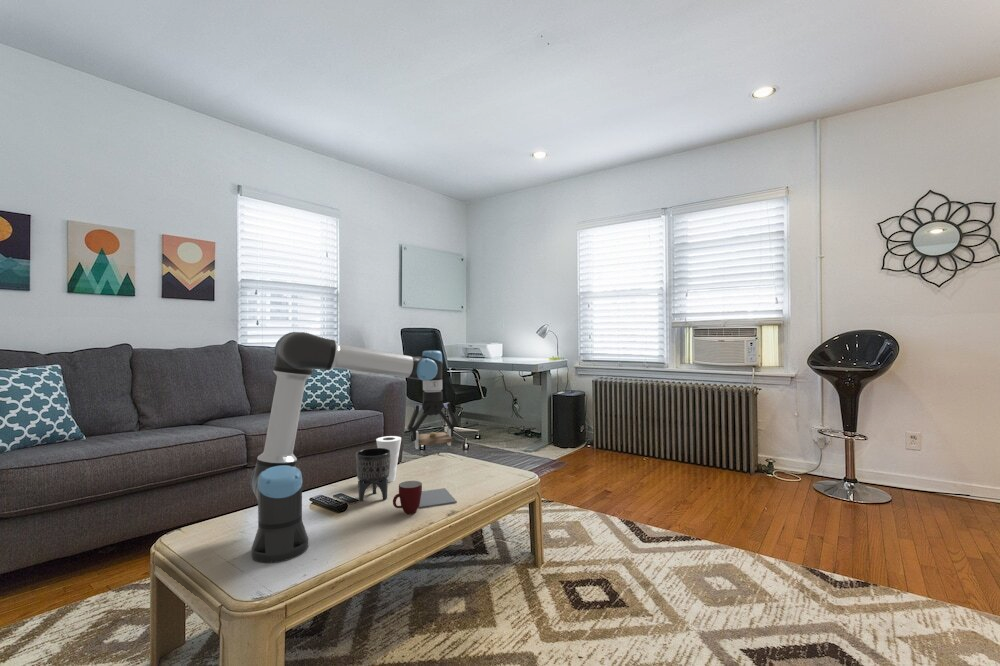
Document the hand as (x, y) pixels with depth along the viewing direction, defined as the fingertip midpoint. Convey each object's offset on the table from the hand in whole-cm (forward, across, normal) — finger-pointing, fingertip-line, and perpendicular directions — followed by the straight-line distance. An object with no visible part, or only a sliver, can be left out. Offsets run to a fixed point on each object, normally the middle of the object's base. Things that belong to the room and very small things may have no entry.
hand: (433, 446), depth 178 cm
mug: (+20, -12, -11) cm, 26 cm away
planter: (+20, -21, +10) cm, 31 cm away
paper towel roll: (+20, -12, +29) cm, 37 cm away
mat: (+20, 0, 0) cm, 20 cm away
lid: (-3, 0, 0) cm, 3 cm away
